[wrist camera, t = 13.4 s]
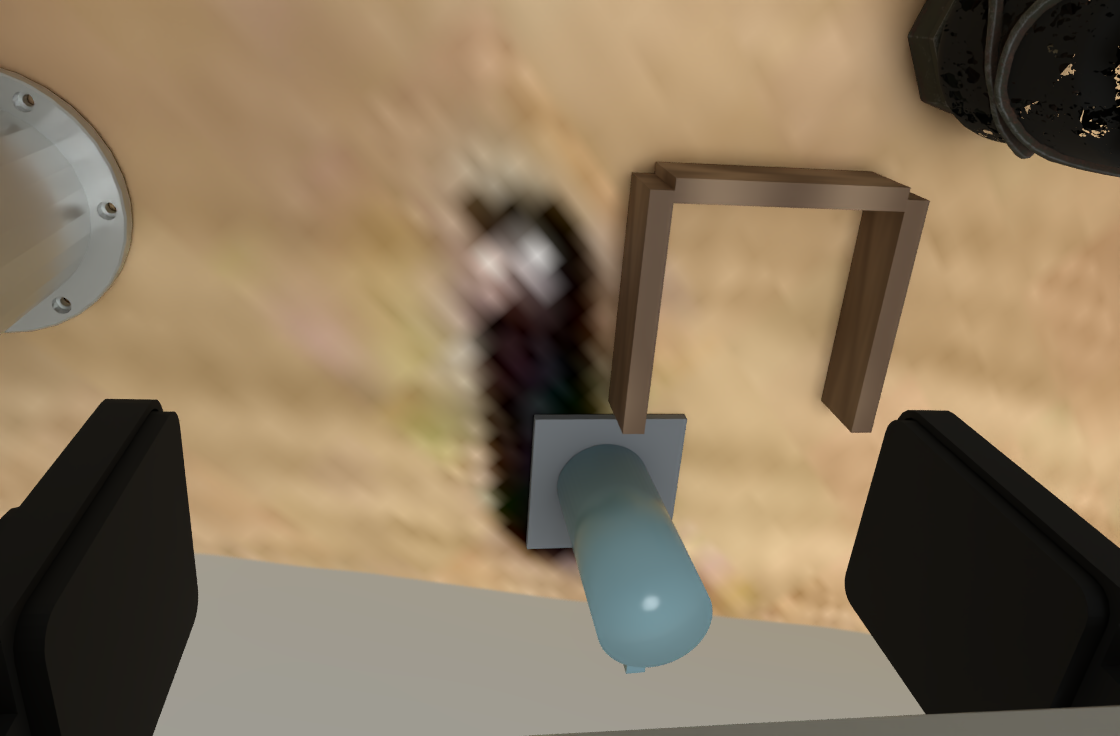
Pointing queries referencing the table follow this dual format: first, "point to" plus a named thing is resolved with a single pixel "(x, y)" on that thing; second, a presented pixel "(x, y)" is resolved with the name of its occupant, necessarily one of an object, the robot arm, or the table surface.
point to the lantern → (1026, 74)
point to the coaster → (578, 432)
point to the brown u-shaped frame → (884, 202)
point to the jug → (631, 560)
